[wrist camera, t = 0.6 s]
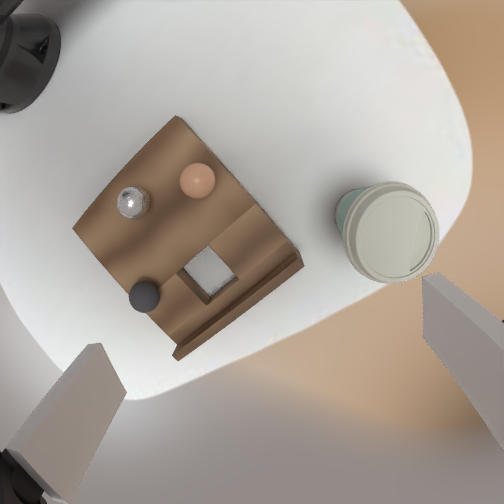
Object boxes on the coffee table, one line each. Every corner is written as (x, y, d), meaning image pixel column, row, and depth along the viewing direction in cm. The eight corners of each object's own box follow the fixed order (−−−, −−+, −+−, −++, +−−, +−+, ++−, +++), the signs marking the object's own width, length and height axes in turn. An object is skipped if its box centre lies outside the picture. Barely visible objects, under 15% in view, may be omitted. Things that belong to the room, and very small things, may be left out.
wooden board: (82, 224, 37) (60, 232, 32) (181, 118, 33) (168, 111, 28) (187, 340, 40) (178, 361, 35) (299, 252, 36) (304, 266, 31)
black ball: (130, 288, 36) (118, 300, 32) (148, 270, 35) (137, 281, 32) (150, 310, 36) (140, 323, 33) (169, 293, 36) (160, 306, 32)
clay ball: (177, 178, 32) (167, 180, 29) (202, 155, 32) (194, 154, 28) (199, 203, 33) (192, 208, 29) (225, 181, 32) (219, 183, 29)
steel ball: (119, 200, 33) (104, 204, 30) (140, 177, 32) (126, 179, 29) (139, 223, 34) (126, 229, 30) (160, 201, 33) (149, 206, 30)
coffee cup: (358, 266, 36) (394, 309, 25) (306, 216, 35) (325, 241, 24) (407, 213, 34) (461, 235, 23) (358, 160, 33) (400, 159, 22)
